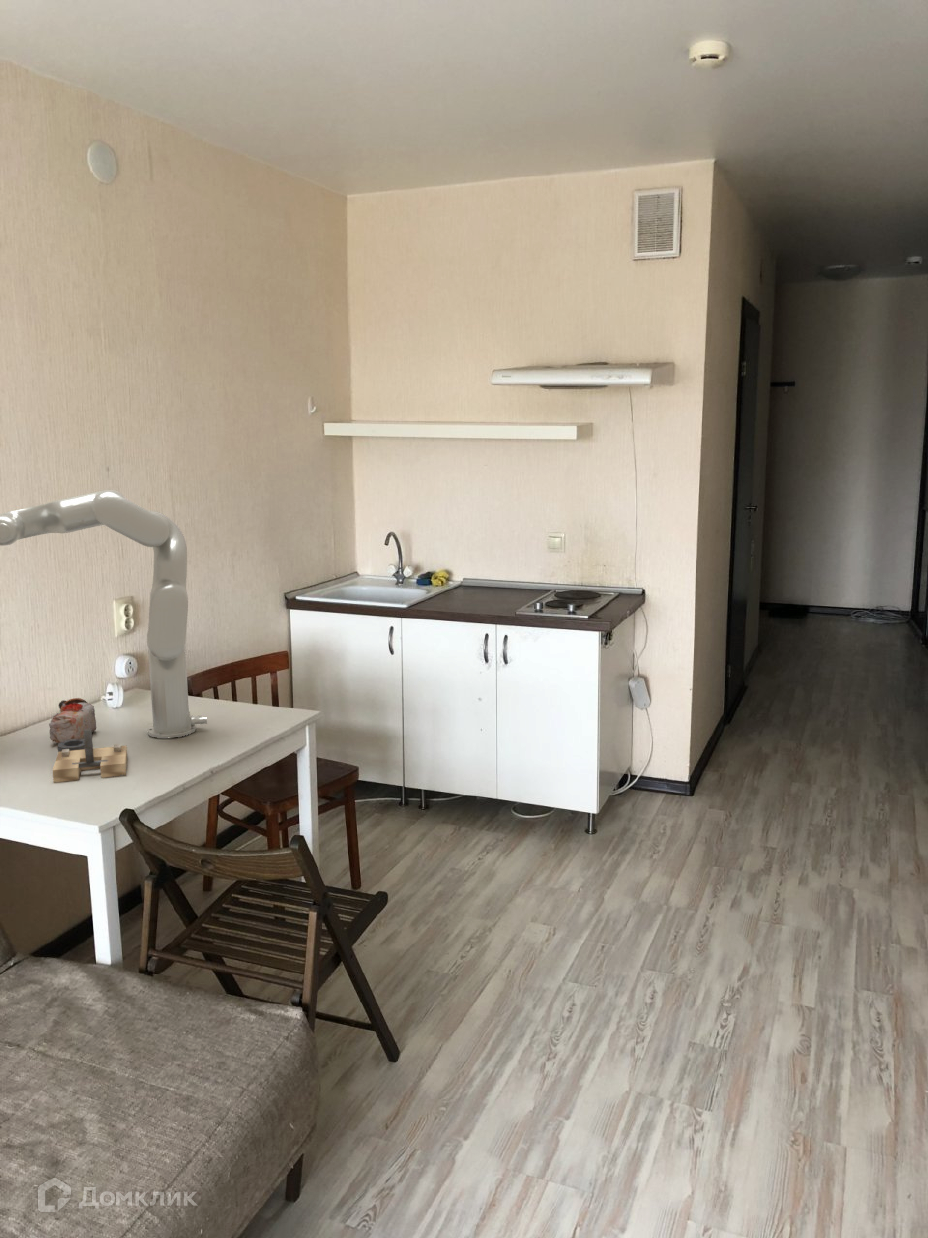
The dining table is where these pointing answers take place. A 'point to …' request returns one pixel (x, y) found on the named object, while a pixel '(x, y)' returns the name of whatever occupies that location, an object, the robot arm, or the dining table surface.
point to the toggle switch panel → (90, 760)
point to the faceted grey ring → (71, 745)
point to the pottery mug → (70, 702)
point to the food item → (72, 722)
